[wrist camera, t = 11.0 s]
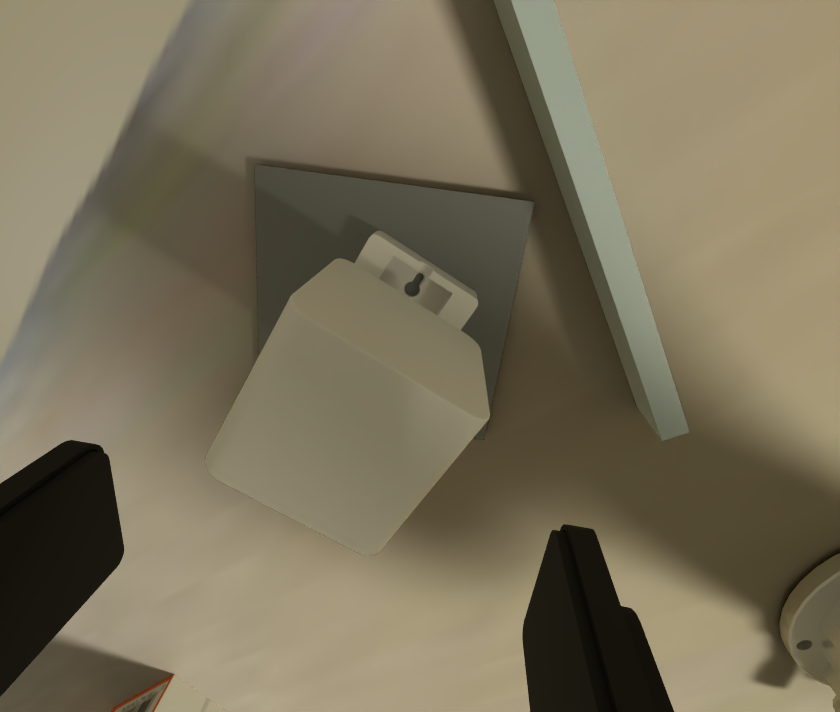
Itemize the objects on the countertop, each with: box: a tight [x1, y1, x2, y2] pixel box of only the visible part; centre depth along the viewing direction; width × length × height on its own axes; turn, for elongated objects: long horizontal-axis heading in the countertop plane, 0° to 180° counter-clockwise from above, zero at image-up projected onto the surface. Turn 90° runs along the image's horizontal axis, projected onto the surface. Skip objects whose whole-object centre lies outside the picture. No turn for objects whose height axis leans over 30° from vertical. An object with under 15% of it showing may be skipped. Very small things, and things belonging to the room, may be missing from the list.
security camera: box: [205, 230, 490, 556], centre depth 17 cm, size 6×7×10 cm
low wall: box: [493, 0, 689, 441], centre depth 19 cm, size 20×1×3 cm, turn 26°
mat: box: [254, 165, 534, 440], centre depth 22 cm, size 12×12×1 cm
